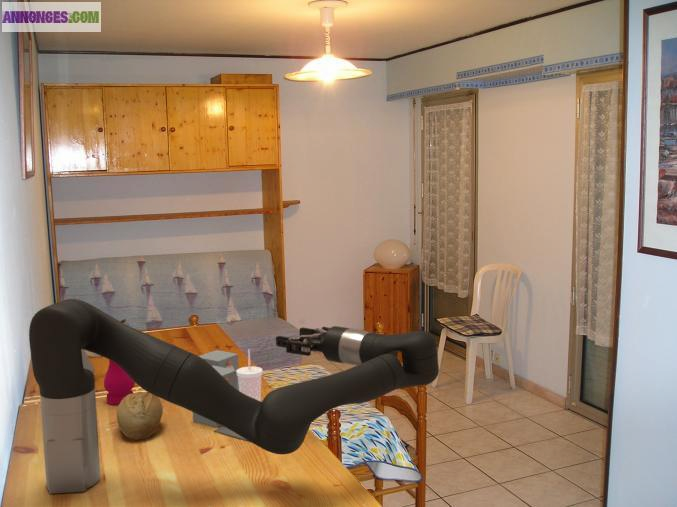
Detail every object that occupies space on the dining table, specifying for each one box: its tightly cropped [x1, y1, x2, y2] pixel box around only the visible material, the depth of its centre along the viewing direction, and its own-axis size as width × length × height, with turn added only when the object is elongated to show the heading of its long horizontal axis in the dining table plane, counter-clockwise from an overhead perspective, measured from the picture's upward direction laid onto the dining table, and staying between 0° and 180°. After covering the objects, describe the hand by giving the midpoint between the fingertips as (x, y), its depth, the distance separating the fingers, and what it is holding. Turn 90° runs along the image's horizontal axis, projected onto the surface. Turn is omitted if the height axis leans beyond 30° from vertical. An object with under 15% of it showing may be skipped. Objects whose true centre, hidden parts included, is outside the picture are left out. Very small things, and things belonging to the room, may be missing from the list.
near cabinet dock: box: [192, 365, 251, 443], centre depth 152 cm, size 19×11×11 cm, turn 56°
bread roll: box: [116, 391, 164, 441], centre depth 151 cm, size 10×15×8 cm, turn 19°
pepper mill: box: [103, 359, 136, 406], centre depth 168 cm, size 7×7×20 cm
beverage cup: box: [236, 348, 264, 402], centre depth 163 cm, size 6×6×14 cm
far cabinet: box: [198, 349, 240, 391], centre depth 168 cm, size 8×7×11 cm
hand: (289, 336), depth 155 cm, fingers open, 8 cm apart
